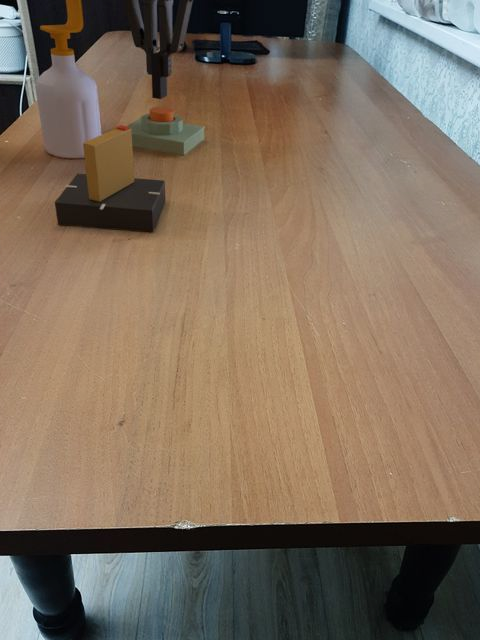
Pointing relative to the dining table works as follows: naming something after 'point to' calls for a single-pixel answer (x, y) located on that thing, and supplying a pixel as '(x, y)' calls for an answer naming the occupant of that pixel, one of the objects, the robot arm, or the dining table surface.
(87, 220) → the black dial base
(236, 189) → the dining table surface
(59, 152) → the soap bottle
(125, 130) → the yellow angular block
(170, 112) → the button
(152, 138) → the button box
